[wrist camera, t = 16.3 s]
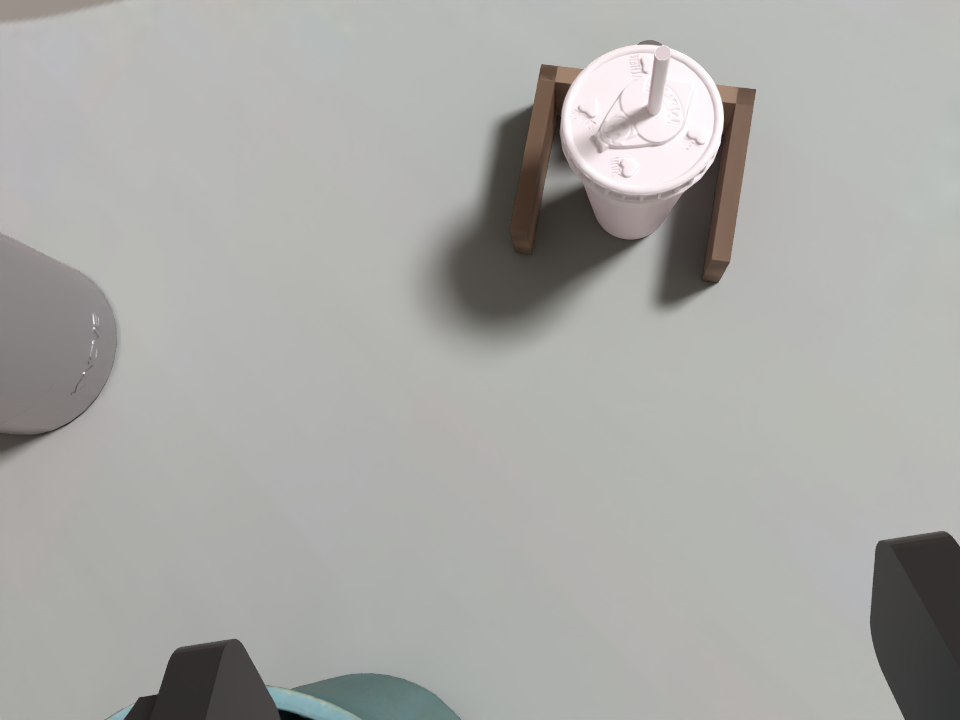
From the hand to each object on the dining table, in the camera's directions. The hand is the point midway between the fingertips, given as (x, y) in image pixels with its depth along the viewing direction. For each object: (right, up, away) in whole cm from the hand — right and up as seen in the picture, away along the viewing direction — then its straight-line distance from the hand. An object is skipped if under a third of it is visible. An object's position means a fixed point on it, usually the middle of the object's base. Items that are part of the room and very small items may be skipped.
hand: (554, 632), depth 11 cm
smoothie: (+7, +11, +33) cm, 35 cm away
